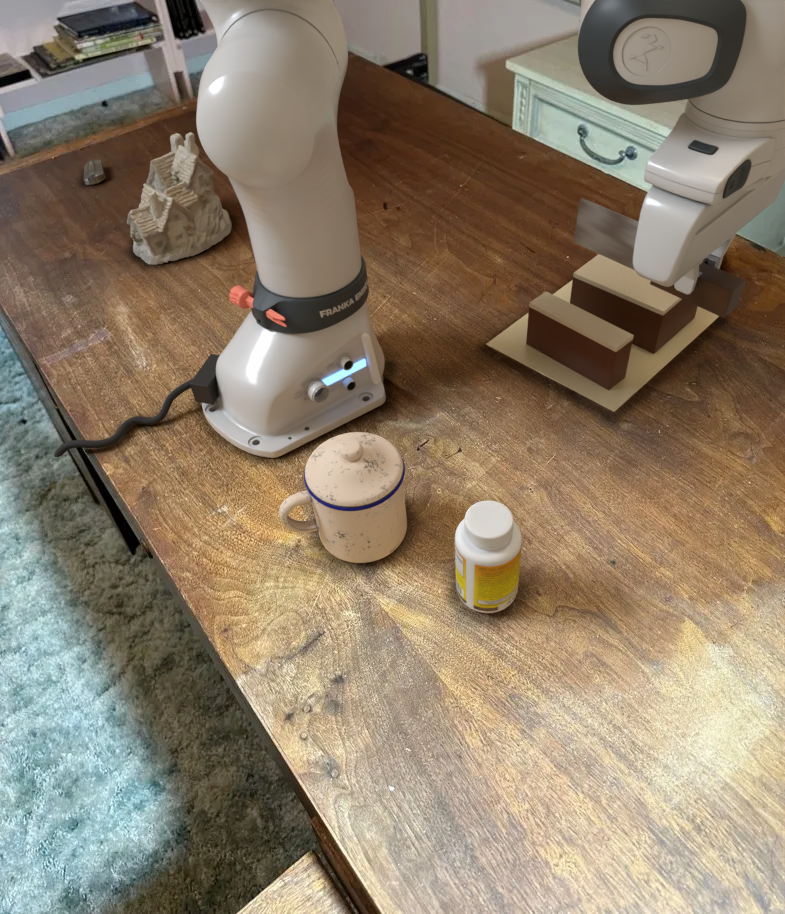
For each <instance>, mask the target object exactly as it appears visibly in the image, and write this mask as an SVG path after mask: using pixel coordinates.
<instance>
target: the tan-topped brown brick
mask: <svg viewBox="0 0 785 914" xmlns="http://www.w3.org/2000/svg"><path fill="white" fill-rule="evenodd" d="M553 294H554V293H551V292H548V291H545V292H543V293H542V294H540V295H539V296H536V298H533V300H531V301H530V302H529V303H528V312H529V313H528V312H527V313H528V326H527V339H526V344H527V345H529V346H530V347H532V348H534V349H536V350H537V351H539V352H541V353H543V354H545V355H546V356H548V357H550V358H552V359H554V360H555V361H557V362H559V363H561V364H562V365H564V366H566V367H568V368H570V369H571V370H573V371H575V372H577V373H579V374H580V375H582V376H584V377H586V378H587V379H589V380H591V381H593V382H595V383H596V384H598V385H600V386H602V387H604V388H605V389H607V390H610V389H611V388H613V387H614V386H615V385H616V384H618V383H619V382H620V381H621V380H623V379H624V378H625V376H626V371H627V366H628V361H629V356H630V351H631V346H632V341H633V337H634V335H632V334H630V333H628V332H626V331H624V330H622V329H620V328H618V327H616V326H614V325H612V324H610V323H608V322H606V321H604V320H602V319H600V318H598V317H596V316H595V315H593V314H591V313H589V312H587V311H585V310H583V309H581V308H579V307H577V306H575V305H573V304H571V303H569V302H567V301H565V300H563V299H561V298H559V297H557V296H555V295H553Z"/></svg>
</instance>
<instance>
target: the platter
mask: <svg viewBox="0 0 785 914" xmlns="http://www.w3.org/2000/svg"><path fill="white" fill-rule="evenodd" d="M572 281H573V279H572V280H570V281H569V282H567V283H566V284H565V285H563V286H562V287H561V288H559V289H558V290H556V291H555V292H554V293H552V294H553V295H555V296H557V297H559V298H561V299H563V300H565V301H567V302H569V303H570V297H571V289H572ZM528 313H529V311H528V312H527V313H526V314H524V315H523V316H521V317H520V318H519V319H518V320H516V321H515V322H513V323H512V324H511V325H509V326H508V327H506V328H505V329H504V330H502V331H501V332H500V333H499V334H497V335H496V336H495V337H493V338H492V339H491V340H489V341H488V342H487V343H485V345H486V346H487V347H490V348H492V349H493V350H495V351H497V352H499V353H501V354H503V355H505V356H506V357H509V358H510V359H512V360H514V361H517V362H518V363H520V364H521V365H524V366H526V367H527V368H529V369H532V370H533V371H535V372H537V373H539V374H541V375H543V376H545V377H547V378H549V379H550V380H553V381H555V382H557V383H558V384H560V385H561V386H564V387H566V388H568V389H570V390H571V391H574V392H575V393H577V394H579V395H580V396H583V397H585V398H586V399H589V400H590V401H593V402H595V404H598V405H600V406H602V407H604V408H606V409H607V410H609V411H612V412H613V413H615V412H616V411H618V410H619V408H621V406H623V405H624V404H625V403H626V402H627V401H628V400H630V398H632V397H633V396H634V395H635V394H636V393H637V392H638V391H639V390H640V389H642V388H643V387H644V386H645V385H646V384H647V383H648V382H649V381H650V380H651V379H653V378H654V377H655V375H657V374H658V373H659V372H660V371H661V370H663V368H664V367H665V366H667V365H668V364H669V363H670V362H671V361H672V360H673V359H674V358H676V356H678V355H679V354H680V353H681V352H683V350H684V349H685V348H686V347H688V346H689V344H691V343H692V342H693V341H695V339H696V338H697V337H698V336H700V335H701V334H702V333H703V332H704V331H705V330H706V329H708V327H710V325H712V324H713V323H714V322H715V321H716V320H717V319H718V318H719V317H720V316H718V315H716V314H713V313H711V312H709V311H707V310H705V309H703V308H700V307H697V311H696V315H695V318H694V319H693V320H692V321H691V322H689V323H688V324H687V325H686V326H685V327H684V328H683V329H682V330H680V331H679V332H678V333H677V334H676V335H675V336H674V337H672V338H671V339H670V340H669V341H668V342H667V343H666V344H665V345H663V346H662V347H661V348H660V349H659V350H658V351H657V352H656V353H654V354H653V353H651V352H649V351H647V350H644V349H642V348H640V347H638V346H636V345H634V344H632V346H631V351H630V356H629V361H628V366H627V371H626V376H625V378H624V379H623V380H621V381H620V382H619V383H618V384H616V385H615V386H614V387H613V388H611V389H610V390H607V389H605V388H604V387H602V386H600V385H598V384H596V383H595V382H593V381H591V380H589V379H587V378H586V377H584V376H582V375H580V374H579V373H577V372H575V371H573V370H571V369H570V368H568V367H566V366H564V365H562V364H561V363H559V362H557V361H555V360H554V359H552V358H550V357H548V356H546V355H545V354H543V353H541V352H539V351H537V350H536V349H534V348H532V347H530V346H529V345H527V344H526V339H527V326H528Z"/></svg>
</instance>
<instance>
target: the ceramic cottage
mask: <svg viewBox="0 0 785 914" xmlns="http://www.w3.org/2000/svg"><path fill="white" fill-rule="evenodd" d="M184 137H185V140H184ZM184 137H183V136H182V135H181V134H180V133H177V132H176V133H174V134H170V137H169V140H170V141H169V142H170V152H168V153H166V154H164V155H162V156H160V157H156V158H154V159H152V160H150V164H149V173H148V177H147V179H146V182H145V183H143V188H142V192H141V195H140V203H139V205H138V208H135V209H130V211H128V213H127V219H126V224H127V225H129V226H130V228H129V230H130V231H129V234H130V235H129V236H130V238H131V239H132V240H133V241H132V242H133V245H132V251H133V253H134V255H135V256H136V257H138V258H140V259H141V260H142V261H143V262H145V263H146V264H148V265H152V266H157V265H163V264H164V263H169V261H170V262H175V261H178V260H180V259H181V260H182V259H184V258H189V257H194V256H195V255H198V254H200V253H202V252H204V251H205V250H209V249H210V248H211V247H213V246H214V245H215V246H216V245H217V244H219V242H221V241H222V240H224V238H227V236H228V235H230V233H231V231H232V221H231V218H230V214H229V213H228V211H227V210H226V209H224V208H223V205H222V203H221V199H220V197H219V196H218V195H217V194H216V192H215V191H216V190H215V185H214V181H213V178H214V174H215V173H214V171H213V169H212V168H211V167H210V166H209V167H208V165H206V164H204V162H202V161H201V159H200V158H199V155H200V150H199V147H198V145H197V143H196V139H195V134H194V133H193V132H192V131H191V132H188V133H186V134H185V136H184Z"/></svg>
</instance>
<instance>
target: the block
mask: <svg viewBox="0 0 785 914" xmlns="http://www.w3.org/2000/svg"><path fill="white" fill-rule="evenodd" d="M105 173H106V172H105V169H104V166H103V162H102V160H101V159H90V160H88V161H87V162H86V164H84V165H83V182H84V184H85V185H88V186H93V185H96V184H99V183H101V182H102V181H104V180H105V179H106V178H107V176H106V174H105Z"/></svg>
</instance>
